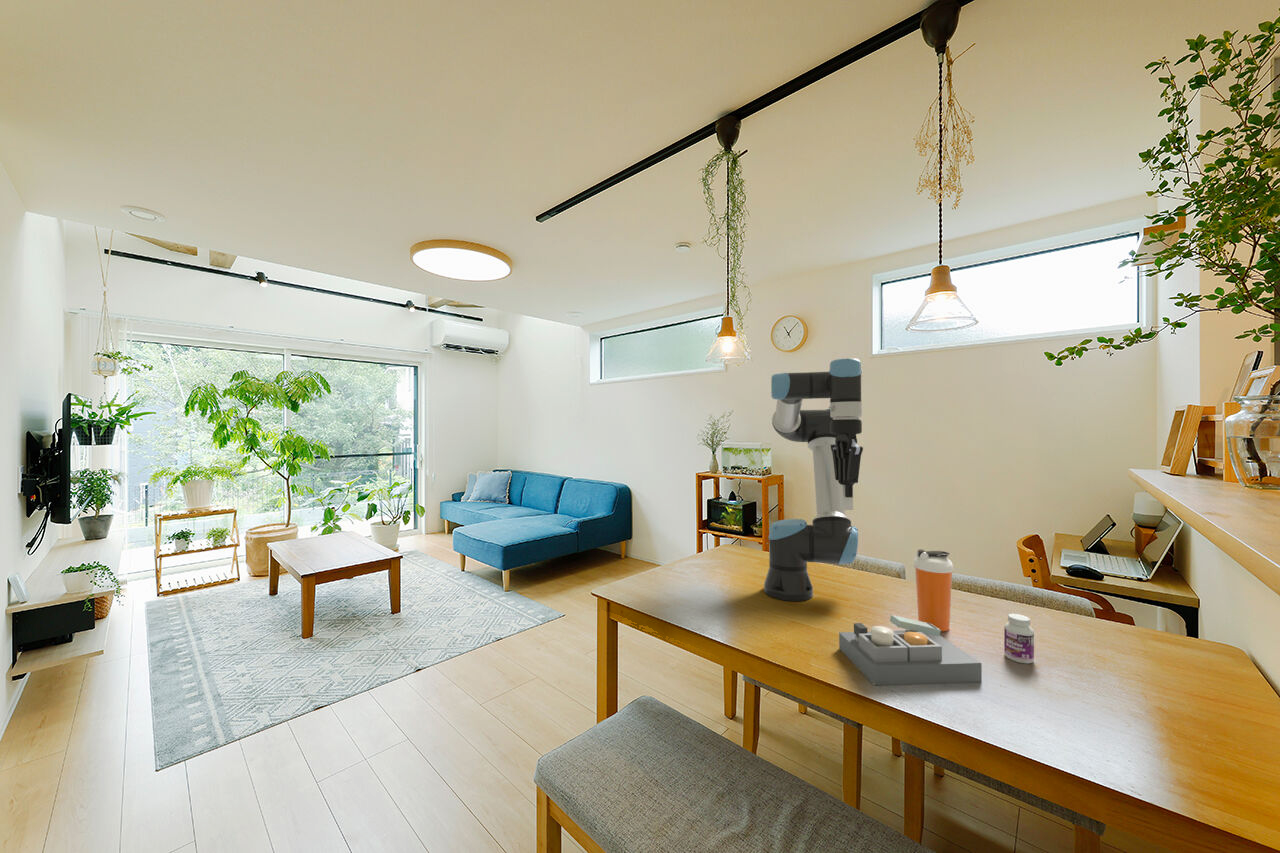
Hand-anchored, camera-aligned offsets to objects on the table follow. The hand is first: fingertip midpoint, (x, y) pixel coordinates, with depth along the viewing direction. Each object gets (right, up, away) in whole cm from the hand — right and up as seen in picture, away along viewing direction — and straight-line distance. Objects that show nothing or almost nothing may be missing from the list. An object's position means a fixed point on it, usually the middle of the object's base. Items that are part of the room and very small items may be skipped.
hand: (846, 509), depth 122 cm
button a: (0, -26, -19) cm, 32 cm away
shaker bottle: (+25, -32, +4) cm, 41 cm away
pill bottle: (+34, -32, -14) cm, 49 cm away
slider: (-2, -27, -13) cm, 30 cm away
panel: (+6, -32, -16) cm, 37 cm away
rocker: (+11, -25, -12) cm, 30 cm away
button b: (+7, -28, -19) cm, 34 cm away
